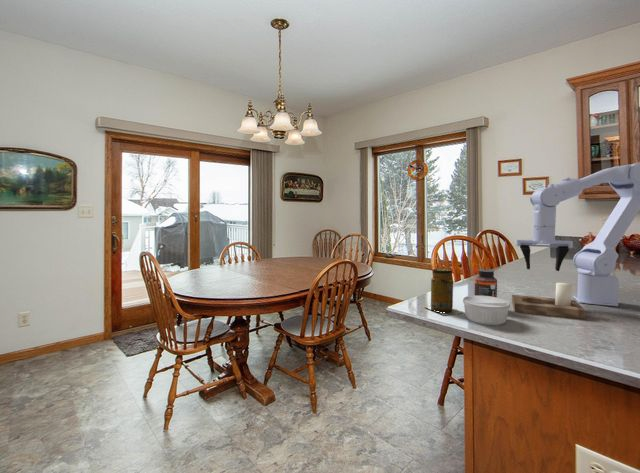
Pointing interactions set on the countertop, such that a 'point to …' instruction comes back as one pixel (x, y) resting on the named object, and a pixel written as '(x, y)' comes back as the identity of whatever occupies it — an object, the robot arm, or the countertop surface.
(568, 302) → the cream peg
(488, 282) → the supplement bottle
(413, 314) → the countertop surface
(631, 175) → the robot arm
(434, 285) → the condiment
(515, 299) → the keyhole board
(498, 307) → the ramekin
